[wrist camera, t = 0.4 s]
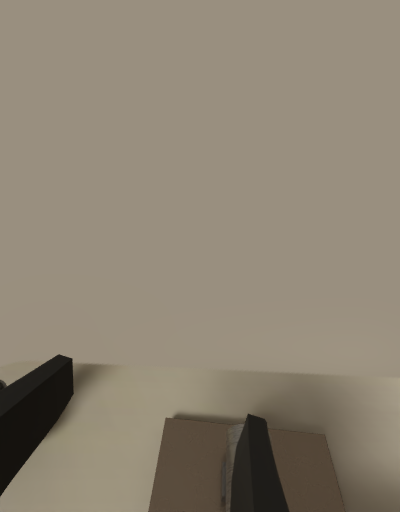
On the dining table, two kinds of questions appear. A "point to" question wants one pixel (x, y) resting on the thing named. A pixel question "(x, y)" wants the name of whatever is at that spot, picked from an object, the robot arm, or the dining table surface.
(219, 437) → the valve manifold
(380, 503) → the dining table surface
